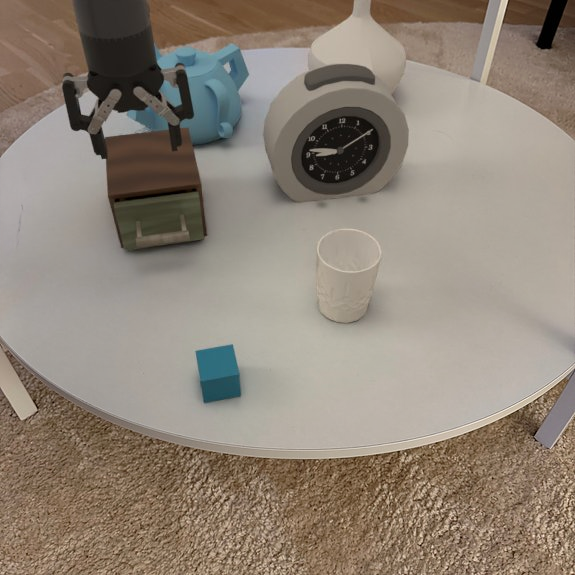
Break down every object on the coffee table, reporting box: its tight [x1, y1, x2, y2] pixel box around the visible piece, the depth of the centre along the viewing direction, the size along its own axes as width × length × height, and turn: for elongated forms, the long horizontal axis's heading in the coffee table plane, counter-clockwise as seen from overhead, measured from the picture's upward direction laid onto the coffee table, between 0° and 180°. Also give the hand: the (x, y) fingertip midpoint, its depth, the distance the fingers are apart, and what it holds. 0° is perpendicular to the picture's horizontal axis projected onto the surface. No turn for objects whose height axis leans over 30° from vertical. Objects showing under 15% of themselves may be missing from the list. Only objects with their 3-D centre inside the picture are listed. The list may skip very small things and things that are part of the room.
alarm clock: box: [262, 64, 410, 203], centre depth 92 cm, size 21×8×20 cm, turn 102°
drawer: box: [114, 189, 205, 251], centre depth 87 cm, size 18×11×8 cm, turn 13°
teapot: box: [126, 43, 250, 146], centre depth 106 cm, size 19×19×14 cm
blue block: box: [194, 343, 242, 404], centre depth 70 cm, size 4×4×4 cm
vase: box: [307, 0, 407, 95], centre depth 111 cm, size 18×18×19 cm
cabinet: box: [104, 128, 208, 249], centre depth 90 cm, size 15×13×10 cm
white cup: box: [316, 228, 383, 324], centre depth 77 cm, size 8×8×10 cm
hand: (140, 151), depth 75 cm, fingers open, 8 cm apart
